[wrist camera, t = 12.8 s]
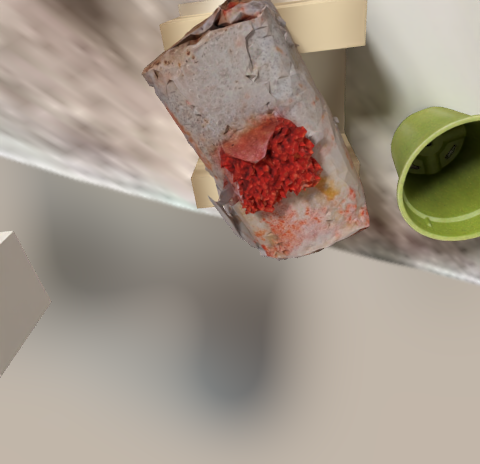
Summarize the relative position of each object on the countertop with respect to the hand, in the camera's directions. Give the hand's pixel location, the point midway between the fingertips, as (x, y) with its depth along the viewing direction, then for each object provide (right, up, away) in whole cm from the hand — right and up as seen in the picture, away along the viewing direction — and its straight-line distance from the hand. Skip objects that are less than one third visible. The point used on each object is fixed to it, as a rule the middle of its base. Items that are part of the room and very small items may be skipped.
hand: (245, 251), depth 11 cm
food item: (+1, +8, +15) cm, 17 cm away
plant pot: (+16, +9, +23) cm, 30 cm away
